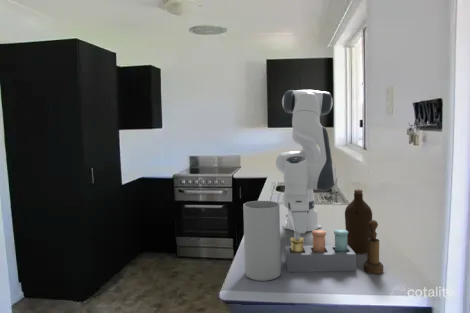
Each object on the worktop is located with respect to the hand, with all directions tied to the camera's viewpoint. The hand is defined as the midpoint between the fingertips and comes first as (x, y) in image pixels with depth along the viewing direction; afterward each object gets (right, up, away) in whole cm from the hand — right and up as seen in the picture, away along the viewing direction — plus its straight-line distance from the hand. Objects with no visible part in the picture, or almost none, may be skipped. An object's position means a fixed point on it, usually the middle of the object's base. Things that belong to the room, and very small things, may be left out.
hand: (297, 238), depth 135 cm
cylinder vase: (-13, -12, -5) cm, 18 cm away
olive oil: (+28, -9, +16) cm, 33 cm away
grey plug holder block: (+8, -10, +1) cm, 13 cm away
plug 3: (+16, -5, 0) cm, 17 cm away
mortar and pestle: (+26, -10, -5) cm, 28 cm away
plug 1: (0, -8, +1) cm, 8 cm away
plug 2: (+8, -5, 0) cm, 10 cm away
